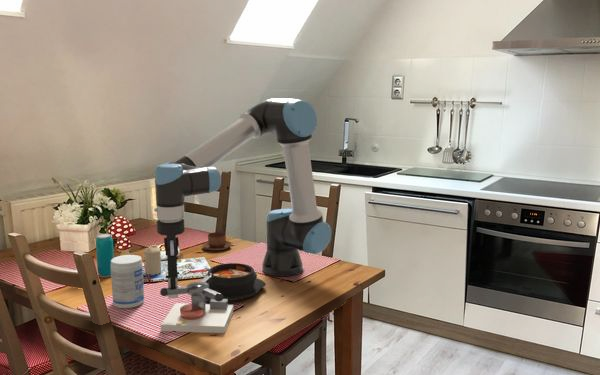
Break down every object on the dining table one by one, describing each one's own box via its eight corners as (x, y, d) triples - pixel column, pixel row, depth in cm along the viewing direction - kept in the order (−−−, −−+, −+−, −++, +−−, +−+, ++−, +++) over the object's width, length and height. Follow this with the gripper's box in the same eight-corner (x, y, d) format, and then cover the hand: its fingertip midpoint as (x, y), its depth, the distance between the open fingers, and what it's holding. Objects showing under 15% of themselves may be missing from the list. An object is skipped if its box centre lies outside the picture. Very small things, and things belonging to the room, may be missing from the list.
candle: (150, 276, 194) (148, 249, 192) (143, 272, 198) (141, 246, 196) (163, 273, 197) (162, 247, 195) (157, 269, 201) (155, 243, 200)
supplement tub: (143, 308, 167) (141, 263, 164) (111, 310, 164) (108, 265, 162) (145, 296, 176) (143, 253, 173) (114, 298, 174) (112, 255, 171)
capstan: (214, 298, 168) (213, 271, 167) (224, 324, 151) (224, 294, 149) (159, 305, 163) (158, 277, 162) (163, 332, 146) (162, 301, 144)
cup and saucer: (207, 243, 235) (207, 230, 234) (234, 245, 233) (234, 231, 232) (199, 252, 223) (198, 237, 222) (227, 253, 221) (226, 239, 220)
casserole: (242, 277, 194) (241, 255, 192) (278, 291, 181) (278, 267, 180) (183, 296, 176) (182, 272, 174) (219, 313, 163) (218, 287, 162)
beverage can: (110, 271, 198) (108, 232, 196) (117, 275, 194) (115, 235, 192) (95, 275, 194) (92, 235, 192) (102, 279, 190) (99, 238, 188)
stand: (233, 310, 165) (233, 297, 164) (224, 333, 150) (224, 318, 149) (175, 309, 166) (175, 295, 165) (160, 331, 151) (160, 316, 150)
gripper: (156, 214, 156) (159, 290, 161) (156, 226, 144) (160, 307, 149) (182, 212, 158) (185, 287, 163) (185, 224, 146) (187, 305, 151)
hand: (173, 297), depth 156 cm, fingers closed
